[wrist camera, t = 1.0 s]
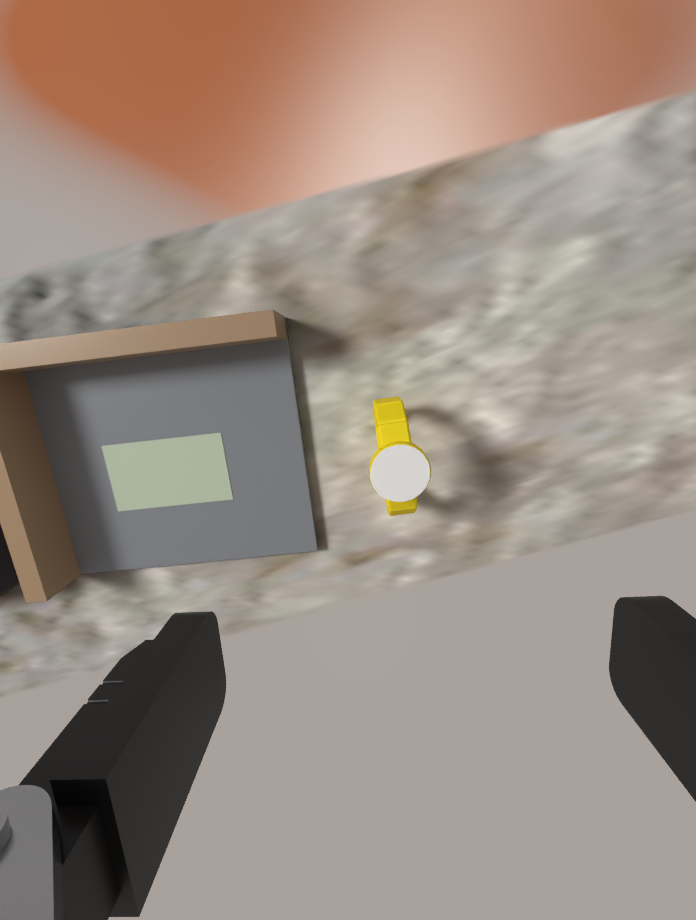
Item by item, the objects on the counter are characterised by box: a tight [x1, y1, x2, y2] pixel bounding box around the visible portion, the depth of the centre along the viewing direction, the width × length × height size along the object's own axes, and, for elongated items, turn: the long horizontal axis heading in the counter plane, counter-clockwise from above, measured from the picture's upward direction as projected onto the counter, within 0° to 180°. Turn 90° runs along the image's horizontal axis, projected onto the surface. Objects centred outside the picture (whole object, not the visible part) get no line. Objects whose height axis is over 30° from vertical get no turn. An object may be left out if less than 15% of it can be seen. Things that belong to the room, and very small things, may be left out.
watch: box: [369, 397, 431, 516], centre depth 22 cm, size 6×3×6 cm, turn 8°
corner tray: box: [0, 310, 318, 603], centre depth 23 cm, size 16×14×4 cm
